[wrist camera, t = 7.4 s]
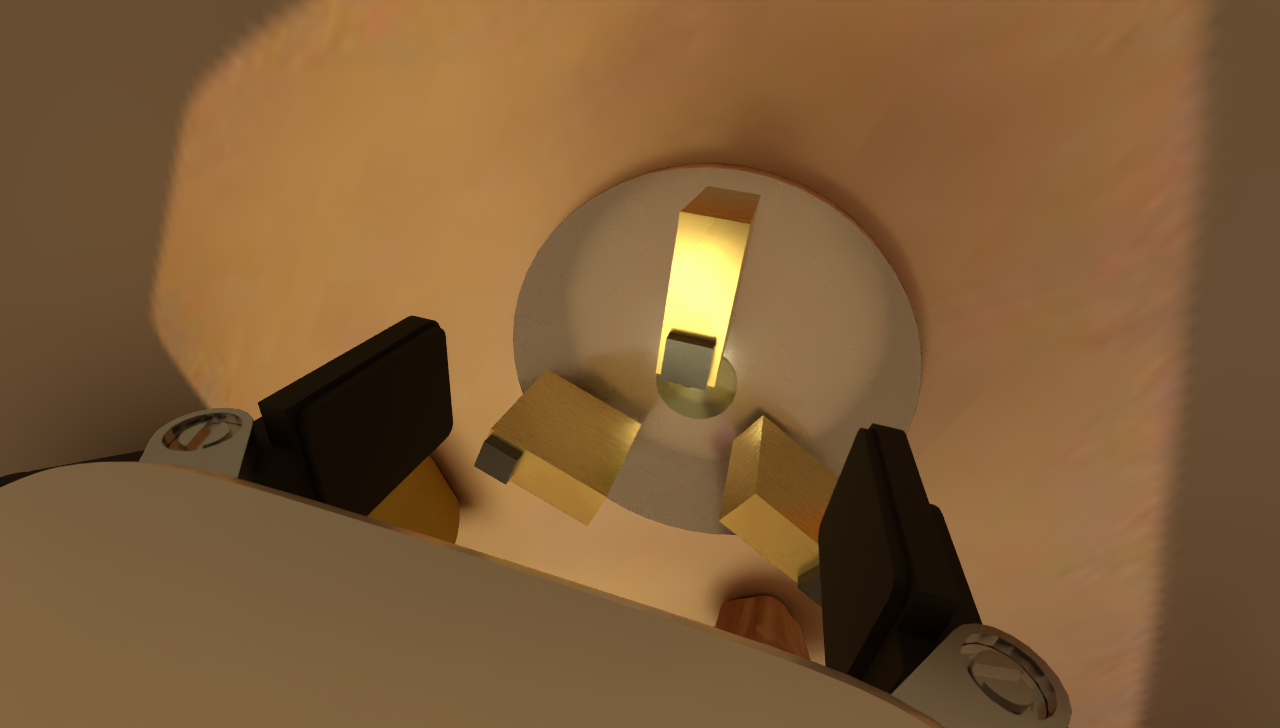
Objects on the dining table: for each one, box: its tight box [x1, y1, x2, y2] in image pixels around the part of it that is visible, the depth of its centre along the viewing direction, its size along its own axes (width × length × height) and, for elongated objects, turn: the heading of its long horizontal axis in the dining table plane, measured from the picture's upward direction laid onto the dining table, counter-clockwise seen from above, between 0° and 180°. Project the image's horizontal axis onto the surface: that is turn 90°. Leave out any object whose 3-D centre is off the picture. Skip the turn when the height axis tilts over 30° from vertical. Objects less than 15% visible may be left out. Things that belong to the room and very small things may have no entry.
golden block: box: [719, 415, 839, 606], centre depth 25 cm, size 6×2×7 cm, turn 53°
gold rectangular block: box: [474, 369, 641, 526], centre depth 27 cm, size 6×2×7 cm, turn 64°
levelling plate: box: [513, 163, 922, 535], centre depth 28 cm, size 22×22×2 cm
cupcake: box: [715, 595, 810, 660], centre depth 33 cm, size 9×9×10 cm
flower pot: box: [367, 456, 459, 544], centre depth 37 cm, size 9×9×9 cm
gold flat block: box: [656, 186, 761, 390], centre depth 21 cm, size 6×2×7 cm, turn 173°
